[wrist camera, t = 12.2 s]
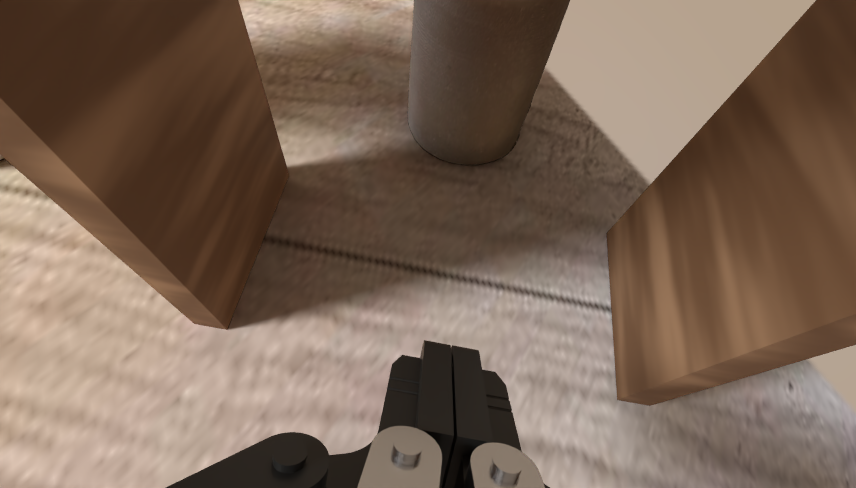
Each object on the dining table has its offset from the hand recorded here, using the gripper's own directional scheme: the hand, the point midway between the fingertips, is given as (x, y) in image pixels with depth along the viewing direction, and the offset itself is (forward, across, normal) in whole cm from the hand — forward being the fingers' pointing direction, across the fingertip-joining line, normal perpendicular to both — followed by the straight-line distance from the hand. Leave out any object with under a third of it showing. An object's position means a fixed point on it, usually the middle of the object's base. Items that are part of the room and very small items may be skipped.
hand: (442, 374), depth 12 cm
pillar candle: (+28, 0, -7) cm, 29 cm away
